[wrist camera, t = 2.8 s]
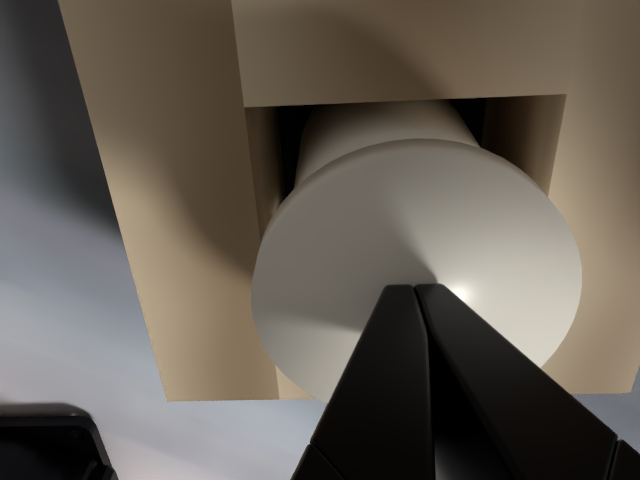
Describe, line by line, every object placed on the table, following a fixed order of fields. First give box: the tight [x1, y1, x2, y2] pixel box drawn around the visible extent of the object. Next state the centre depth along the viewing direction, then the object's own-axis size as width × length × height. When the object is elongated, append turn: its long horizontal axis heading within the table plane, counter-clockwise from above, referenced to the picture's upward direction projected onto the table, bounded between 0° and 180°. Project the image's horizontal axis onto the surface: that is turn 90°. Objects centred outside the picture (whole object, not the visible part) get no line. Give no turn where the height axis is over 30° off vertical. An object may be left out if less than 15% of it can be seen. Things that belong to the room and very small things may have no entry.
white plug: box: [251, 99, 582, 404], centre depth 11 cm, size 5×5×6 cm
